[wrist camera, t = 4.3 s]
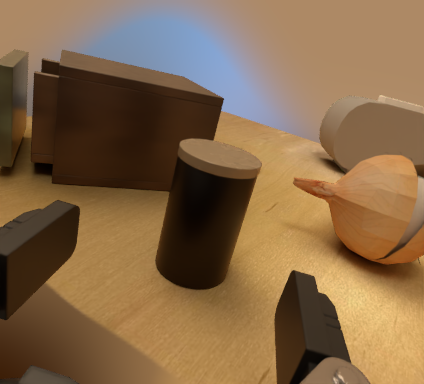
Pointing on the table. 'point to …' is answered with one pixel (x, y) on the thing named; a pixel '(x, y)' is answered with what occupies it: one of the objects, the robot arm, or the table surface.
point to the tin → (205, 211)
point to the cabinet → (125, 123)
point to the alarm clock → (372, 130)
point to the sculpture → (377, 208)
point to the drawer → (17, 107)
